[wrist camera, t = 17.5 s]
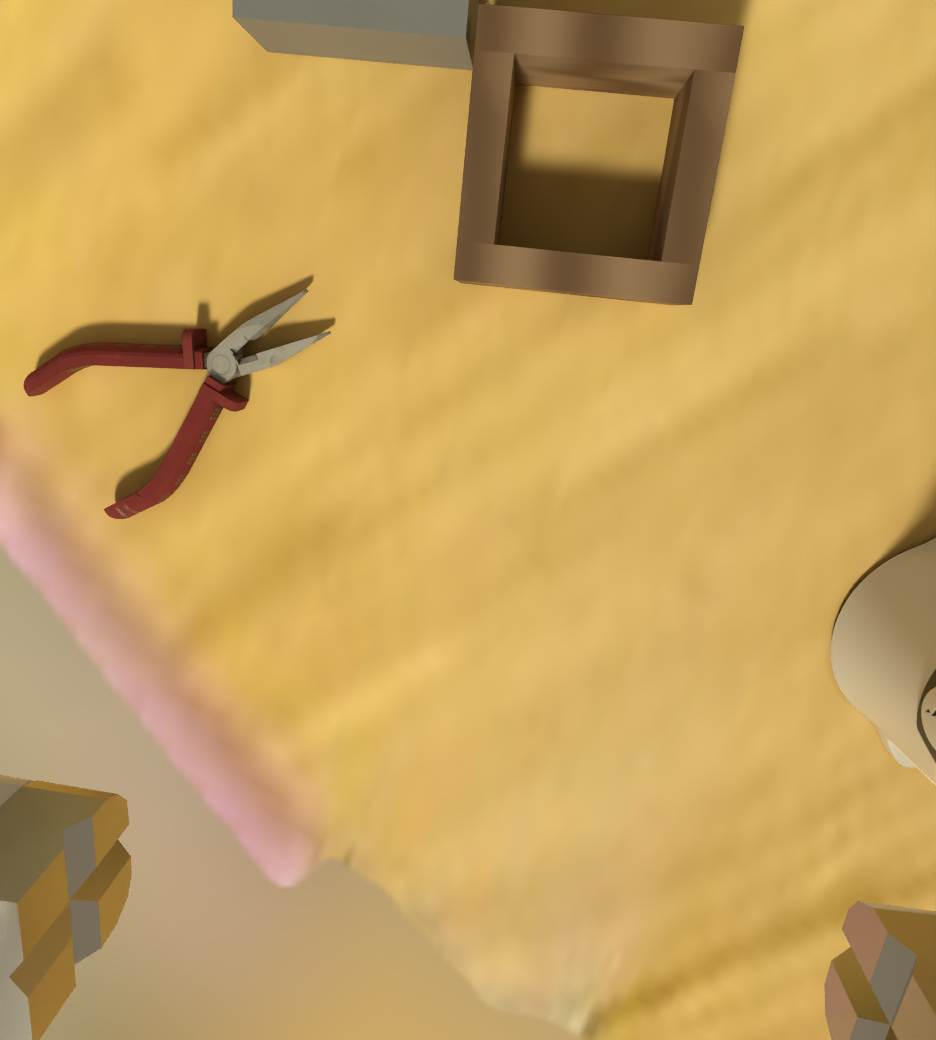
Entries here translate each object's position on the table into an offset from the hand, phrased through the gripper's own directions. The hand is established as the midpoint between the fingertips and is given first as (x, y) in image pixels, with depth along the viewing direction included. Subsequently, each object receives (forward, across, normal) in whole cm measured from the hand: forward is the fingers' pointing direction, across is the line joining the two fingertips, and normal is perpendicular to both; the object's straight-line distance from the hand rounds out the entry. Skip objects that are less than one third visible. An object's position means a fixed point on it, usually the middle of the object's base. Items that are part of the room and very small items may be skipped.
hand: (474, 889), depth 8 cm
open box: (+39, +2, +14) cm, 42 cm away
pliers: (+40, -22, -2) cm, 46 cm away
